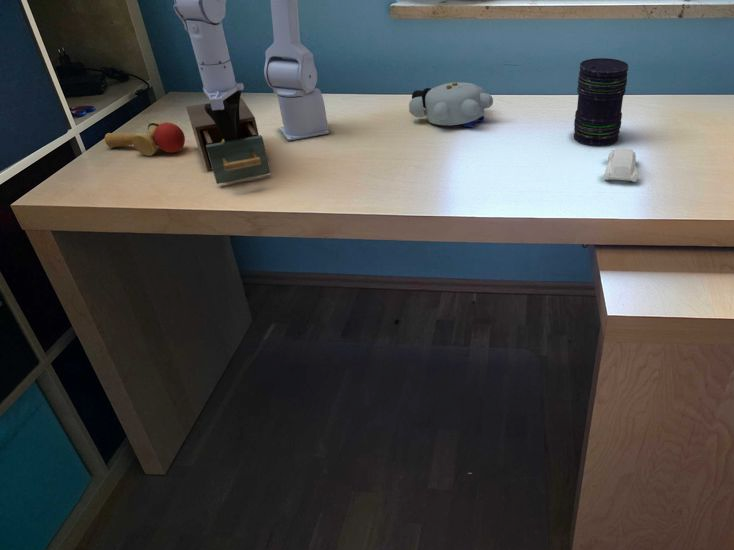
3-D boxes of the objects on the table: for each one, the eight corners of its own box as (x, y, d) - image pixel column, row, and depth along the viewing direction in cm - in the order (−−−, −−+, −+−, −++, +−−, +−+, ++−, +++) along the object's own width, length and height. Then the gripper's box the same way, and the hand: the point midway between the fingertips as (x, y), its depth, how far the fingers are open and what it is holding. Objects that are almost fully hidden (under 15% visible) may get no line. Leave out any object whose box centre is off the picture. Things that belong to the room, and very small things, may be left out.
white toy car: (637, 186, 119) (641, 162, 116) (603, 184, 120) (606, 160, 117) (637, 160, 128) (640, 138, 125) (605, 158, 129) (608, 136, 126)
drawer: (276, 182, 121) (267, 145, 116) (221, 193, 118) (210, 156, 113) (257, 151, 133) (249, 116, 128) (207, 160, 130) (197, 125, 125)
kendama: (102, 161, 136) (174, 155, 131) (91, 130, 133) (164, 123, 128) (127, 153, 142) (196, 147, 138) (116, 124, 139) (187, 116, 135)
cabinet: (264, 160, 131) (254, 117, 126) (207, 171, 128) (194, 127, 122) (251, 138, 141) (241, 97, 135) (198, 148, 137) (185, 106, 131)
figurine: (507, 113, 149) (440, 107, 159) (504, 75, 144) (436, 71, 154) (463, 137, 138) (395, 128, 149) (459, 96, 133) (388, 90, 144)
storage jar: (597, 126, 143) (605, 55, 134) (628, 139, 137) (639, 66, 127) (563, 136, 139) (569, 63, 129) (594, 150, 132) (602, 75, 123)
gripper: (232, 70, 109) (250, 148, 117) (240, 48, 120) (257, 121, 128) (189, 73, 108) (211, 151, 116) (202, 51, 119) (221, 123, 127)
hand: (232, 135), depth 122 cm, fingers open, 5 cm apart
